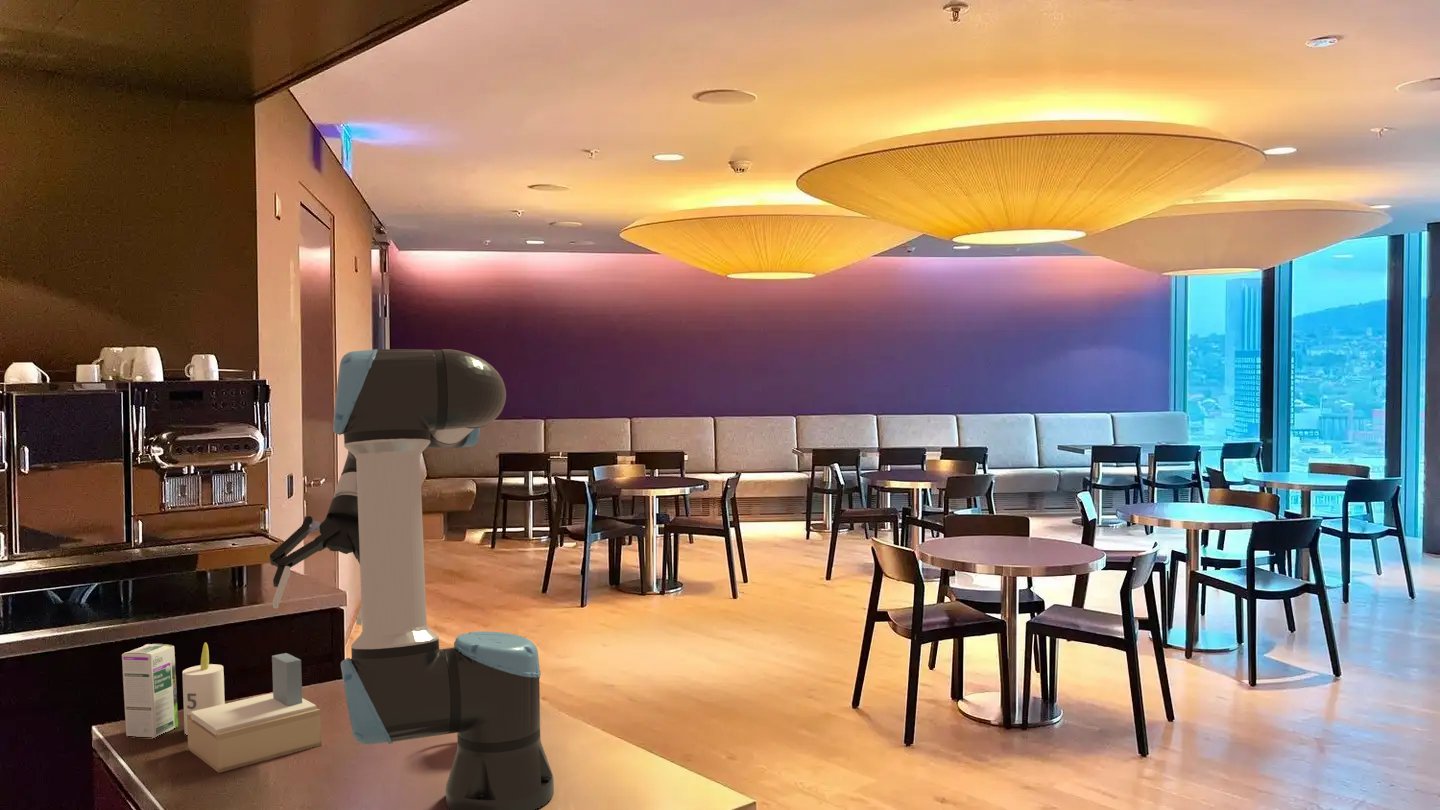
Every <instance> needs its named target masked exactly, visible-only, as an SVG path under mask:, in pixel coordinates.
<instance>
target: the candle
mask: <svg viewBox="0 0 1440 810" xmlns="http://www.w3.org/2000/svg"><path fill="white" fill-rule="evenodd" d="M209 653H210V651H209V644H208V643H207V642H204V643H203V646H202V652H201V655H200V656H201V657H200V664H199V665H194V666H191V667H188V668H185V669H183V670H182V673H181V674H182V697H183V699H182V700H183V726H184V727H183V729H184V735H185V734H186V735H188V729H187V713H190V712H192V711H196V710H200V709H205V708H209V707H214V706H218V705H222V704H226V701H225V700H226V699H225V675H224V665H222V664H213V663H210V654H209ZM186 735H185V736H186Z"/></svg>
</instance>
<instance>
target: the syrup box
mask: <svg viewBox="0 0 1440 810" xmlns="http://www.w3.org/2000/svg"><path fill="white" fill-rule="evenodd" d="M175 654H176V652H175V646H174V645H172V644H167V643H166V644H164V643H152V644H151V643H147V644H144V645H143V646H141V647H138V648H134V649H131V650H130V651H127V652H124V653H122V654H121V661H122V664H121V665H122V683H123V701H124V717H125V735H126V737H128V736H136V737H152V738H151V739H153V738H155V737H157V736H158V737H160V736H161V734H162V735H164V734H165V732H166V733H168V732H170V731H172V730H174V728H175V729H177V728H178V727H179V712H178V697H177V696H178V694H177V692H178V691H177V675H176V656H175ZM176 727H177V728H176ZM163 733H164V734H163ZM159 735H160V736H159ZM158 737H157V738H158ZM155 739H156V738H155Z"/></svg>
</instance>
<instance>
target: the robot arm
mask: <svg viewBox="0 0 1440 810" xmlns="http://www.w3.org/2000/svg"><path fill="white" fill-rule="evenodd" d="M337 376H338V377H337V383H336V390H335V391H336V393H335V402H334V412H333V422H332V423H333V424H332V432H333V433H334V434H336V435H338V436H341V435H343V440H344V441H343V442H344V443H343V444H344V447H343V448H345V449H346V450H347V456H346V460H345V462H344V466H343V469H342V472H341V475H340V477H339V480H338V482H337V485H336V488H335V490H334V493H333V498H332V500H331V501H330V505H329V508H328V511H327V514H326V517H325V518H324V520H323V521H322V522H320V521H317V520H313V517H312V516H310V515H308V516H306V517H305V518H304V519H303V522H302V524H301V526H299V527H298V528H297V529H296V530H295V531H294V532H293V533H292V534H291V535H289V536H288V538H287V539H285V541H283V542H282V543H280V545H279V546H278V547H277V548H276V549H275V550H274V551H272V552H271V553H270V554H269V563H270V565H271V566H275V568H277V569H276V572H275V574H274V576H273V579H272V581H273V587H275V588H276V591H275V594H274V595H273V596H274V597H273V598H272V608H273V609H279V606H280V603H281V600H282V597H283V595H284V592H285V589H286V587H287V584H288V581H289V578H290V576H291V568H292V567H294V566H296V565H297V564H299V563H301V562H303V561H305V560H306V559H308V558H309V557H311V556H313V555H314V554H315V553H317V552H321V551H323V550H325V549H326V548H327V549H328V550H329V551H331V552H340V553H342V554H345V555H349V554H351V553H352V554H353V556H354V557H355V559H356V560H357V562H358V564H359V569H360V570H359V573H360V575H359V576H360V602H361V605H360V608H359V611H358V614H357V617H356V625H358V626H362V627H361V628H362V630H361V632H360V635H359V636H358V637H357V638H356V639H355V641H353V643H351V645H350V646H351V647H350V649H351V658H350V657H346V658H345V659H343V660H341V662H340V669H341V674H342V675H341V676H342V683H343V687H344V695H345V700H346V706H347V711H348V718H349V722H350V728H351V732H352V736H353V738H354V739H355V740H356V741H357V742H358V743H360V744H363V745H373V744H374V745H376V744H385V743H387V744H390V745H391V744H393V743H396V742H401V741H409V740H414V739H423V738H428V737H437V736H443V735H448V734H449V735H450V734H456V733H457V734H456V735H457V749H456V752H455V754H454V759H453V761H452V765H451V768H450V772H449V775H448V778H447V781H446V785H445V786H446V787H445V803H446V804H445V805H446V806H447V808H448V810H535V809H536V810H538V809H540V808H542V807H543V806H545V805H546V804H548V803H549V802H550V801H551V800H552V799H553V797H554V792H555V791H554V790H555V789H554V788H555V786H554V785H555V784H554V782H555V781H554V774H553V772H552V768H551V766H550V763H549V761H548V760H549V759H548V758H547V754H546V752H545V749H544V746H543V743H542V740H541V692H540V691H541V688H540V677H541V673H542V672H541V670H540V660H539V651H538V648H537V646H536V644H535V643H534V642H533V641H531V640H530V639H529V638H526V637H524V636H521V635H518V634H514V633H509V632H503V631H502V632H501V631H491V630H490V631H487V630H486V631H483V630H482V631H480V630H479V631H469V632H468V633H462V634H459V635H458V636H456V638H455V640H454V643H453V647H447V648H440V643H439V642H440V639H439V635H437V633H436V632H434V631H433V630H432V629H431V628H430V627H429V625H428V622H427V621H428V620H427V598H426V597H427V596H426V595H427V594H426V574H425V572H426V571H425V552H424V550H425V549H424V547H425V545H424V525H423V501H422V500H423V499H422V476H421V475H422V474H421V455H422V453H423V452H424V451H425V450H426V449H449V448H450V449H451V448H452V449H453V448H455V449H462V448H467V447H475V446H476V445H477V444H478V443H479V438H480V433H481V432H480V429H481V428H484V427H486V426H488V425H490V424H491V423H492V422H494V421H495V420H496V419H497V418H498V417H499V416H500V414H501V413H502V412H503V409H504V406H505V404H506V401H507V400H506V399H507V390H506V386H505V382H504V380H503V377H502V376H501V375H500V373H499V372H498V370H497V369H495V368H494V366H492V364H490V363H489V362H487V361H486V360H485V359H483V358H481V357H479V356H476V355H474V354H472V353H469V352H467V351H466V352H465V351H461V350H456V349H451V348H450V349H449V348H448V349H445V348H444V349H401V348H400V349H396V348H393V349H392V348H391V349H390V348H389V349H388V348H374V349H365V350H353V351H349V352H347V353H346V354H344V355H343V356H342V357H341V360H340V362H339V367H338V375H337ZM317 530H319V533H320V535H317V536H316V537H315V538H314V539H313V540H312V541H309V542H308V543H307V544H305V545H303V546H300V548H298V549H296V550H294V549H295V548H296V547H297V546H298V545H300V543H301V542H302V541H304V540H305V539H306V538H307V536H309V534H313V533H315V531H317ZM293 550H294V551H293ZM292 551H293V552H292ZM550 799H551V800H550ZM548 801H549V802H548ZM541 806H542V807H541ZM537 808H538V809H537Z"/></svg>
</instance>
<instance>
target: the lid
mask: <svg viewBox="0 0 1440 810" xmlns="http://www.w3.org/2000/svg"><path fill="white" fill-rule="evenodd" d="M271 663H272V665H271V667H272V669H271V670H272V692H271V693H268V694H263V695H259V696H253V697H249V698H244V699H240V700H236V701H232V702H228V703H225V704H222V705H218V706H214V707H209V708H205V709H200V710H196V711H192V712H190V713H191V718H192V719H193V720H194V721H196V722H197V723H199V724H200V725H202V726H203V727H204V728H206V729H207V730H209V731H210V732H212V733H213V734H214V735H216V734H217V733H221V732H225V731H229V730H233V729H237V728H241V727H245V726H249V725H253V724H258V723H262V722H266V721H270V720H274V719H278V718H282V717H286V716H290V715H294V714H298V713H302V712H307V711H311V710H315V709H317V705H316V704H315V703H312V702H311V701H309V700H307V699H305V698H303V682H302V681H303V680H302V679H303V675H302V659H301V658H298V657H295V656H294V655H292V654H290V653H287V652H285V653H279V654H275V655H271Z"/></svg>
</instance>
